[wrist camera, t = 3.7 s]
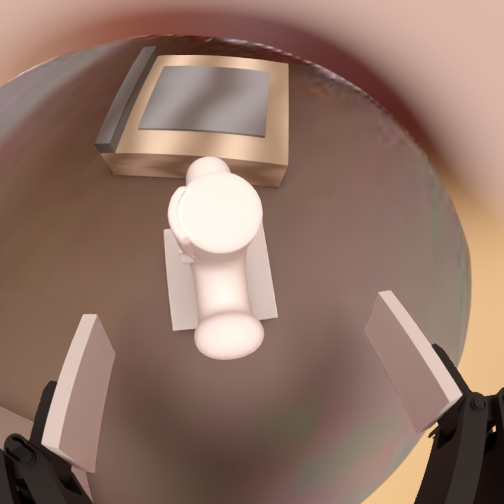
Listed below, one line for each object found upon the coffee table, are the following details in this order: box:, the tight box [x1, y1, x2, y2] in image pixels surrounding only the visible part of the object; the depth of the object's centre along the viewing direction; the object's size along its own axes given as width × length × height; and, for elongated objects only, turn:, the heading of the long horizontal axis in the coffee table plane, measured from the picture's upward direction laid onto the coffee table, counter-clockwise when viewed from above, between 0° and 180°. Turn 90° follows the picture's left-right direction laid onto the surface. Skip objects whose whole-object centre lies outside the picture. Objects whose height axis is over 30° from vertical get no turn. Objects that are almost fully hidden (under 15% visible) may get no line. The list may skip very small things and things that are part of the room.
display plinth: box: [95, 46, 288, 188], centre depth 24 cm, size 16×14×6 cm
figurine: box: [164, 156, 278, 360], centre depth 16 cm, size 7×9×15 cm
